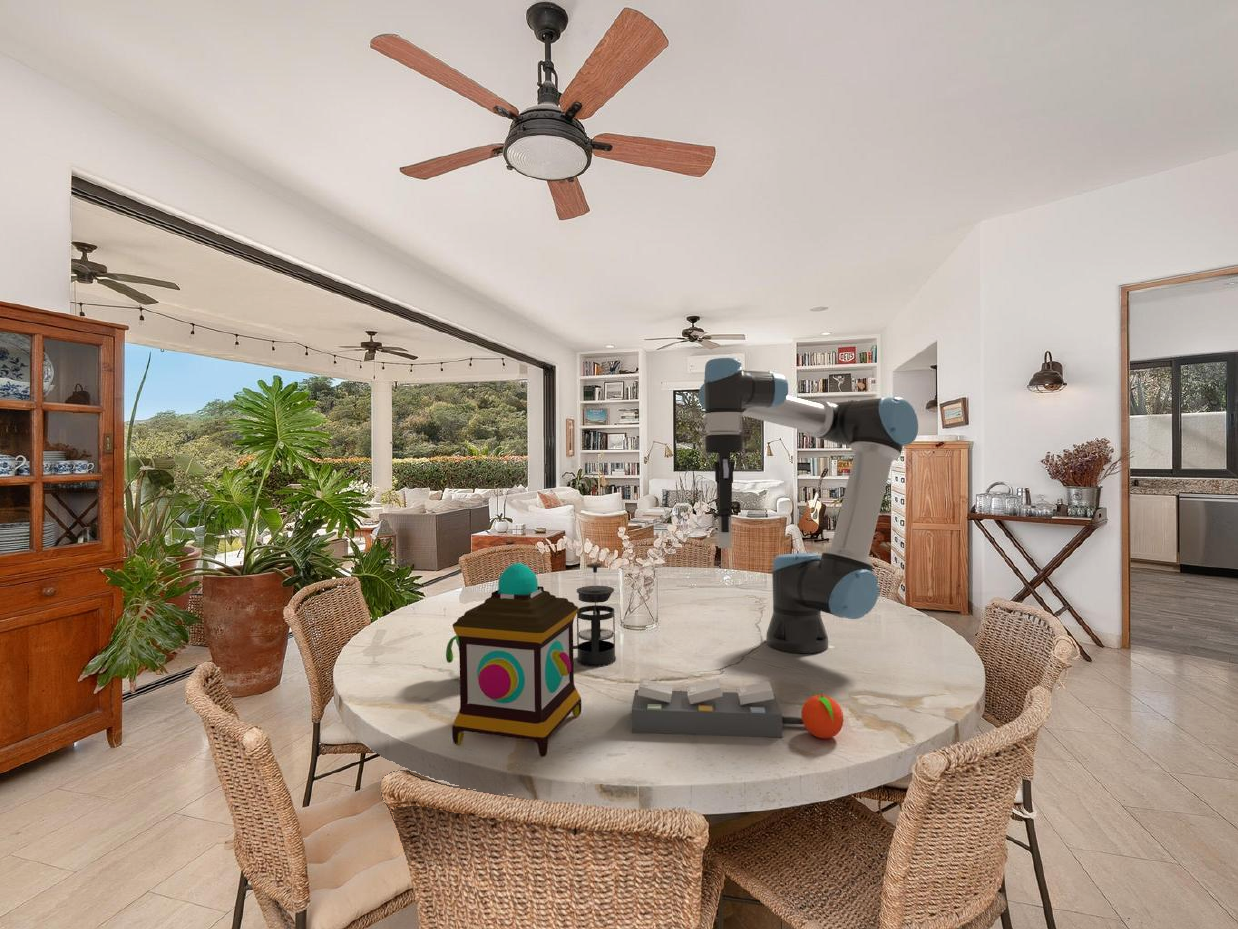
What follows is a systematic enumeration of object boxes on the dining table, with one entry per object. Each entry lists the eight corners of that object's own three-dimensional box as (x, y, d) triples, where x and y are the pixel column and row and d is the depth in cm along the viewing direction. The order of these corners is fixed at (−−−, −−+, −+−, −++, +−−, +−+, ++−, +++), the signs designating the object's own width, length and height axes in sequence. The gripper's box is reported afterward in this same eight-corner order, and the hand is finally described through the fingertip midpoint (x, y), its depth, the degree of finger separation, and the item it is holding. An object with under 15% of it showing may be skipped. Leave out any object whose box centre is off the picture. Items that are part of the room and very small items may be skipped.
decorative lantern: (497, 701, 121) (494, 552, 120) (591, 712, 115) (588, 555, 114) (440, 749, 101) (436, 571, 101) (549, 765, 96) (546, 576, 95)
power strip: (807, 715, 112) (807, 692, 112) (818, 738, 103) (817, 713, 103) (635, 710, 115) (635, 688, 115) (631, 732, 107) (631, 708, 106)
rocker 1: (670, 693, 112) (672, 684, 112) (670, 702, 108) (672, 693, 108) (639, 686, 113) (640, 677, 113) (637, 694, 109) (639, 685, 109)
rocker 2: (721, 687, 111) (718, 678, 111) (722, 696, 107) (719, 686, 107) (689, 695, 112) (687, 686, 112) (690, 704, 108) (687, 695, 108)
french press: (618, 653, 149) (617, 560, 148) (618, 666, 139) (617, 567, 139) (571, 653, 149) (569, 560, 148) (567, 667, 139) (566, 568, 139)
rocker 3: (771, 690, 110) (768, 680, 110) (774, 698, 106) (772, 689, 106) (738, 695, 111) (736, 686, 111) (740, 704, 107) (738, 695, 107)
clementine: (853, 748, 100) (853, 705, 100) (813, 750, 99) (812, 707, 99) (833, 726, 108) (833, 686, 108) (795, 728, 107) (795, 688, 107)
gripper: (704, 435, 132) (705, 542, 132) (706, 433, 119) (707, 552, 119) (738, 434, 131) (739, 542, 132) (745, 432, 118) (746, 552, 119)
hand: (724, 547), depth 126 cm, fingers closed
